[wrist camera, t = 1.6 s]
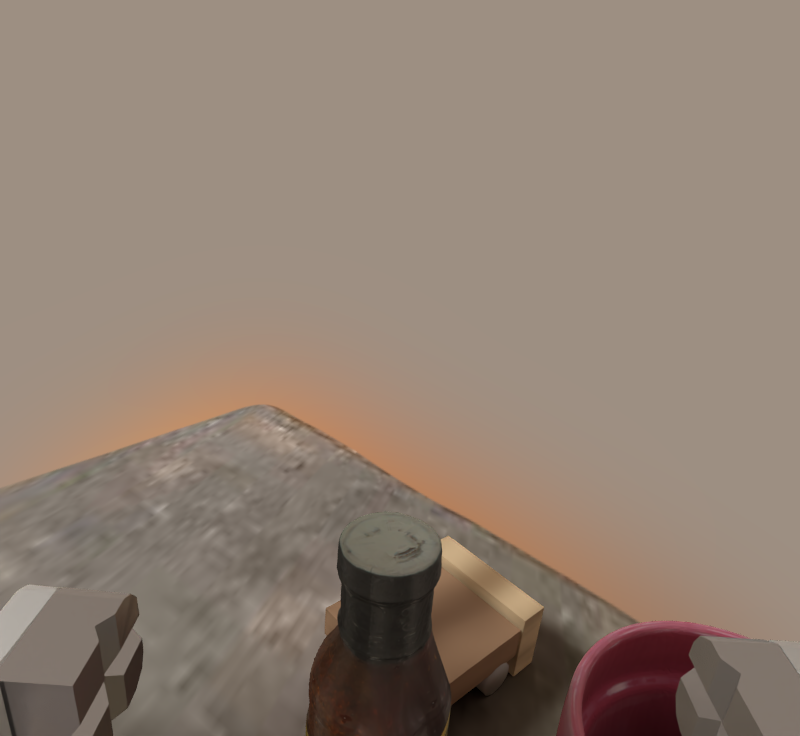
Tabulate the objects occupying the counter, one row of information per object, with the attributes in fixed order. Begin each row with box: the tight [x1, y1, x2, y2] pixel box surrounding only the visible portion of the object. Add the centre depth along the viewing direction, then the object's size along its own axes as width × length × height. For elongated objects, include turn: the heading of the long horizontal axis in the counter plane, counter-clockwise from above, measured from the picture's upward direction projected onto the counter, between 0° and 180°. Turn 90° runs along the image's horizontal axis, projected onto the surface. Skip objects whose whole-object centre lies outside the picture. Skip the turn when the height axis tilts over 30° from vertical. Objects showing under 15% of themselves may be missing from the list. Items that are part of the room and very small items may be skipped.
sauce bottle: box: [306, 512, 451, 736], centre depth 28 cm, size 6×6×20 cm
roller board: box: [325, 536, 544, 705], centre depth 42 cm, size 9×11×5 cm
